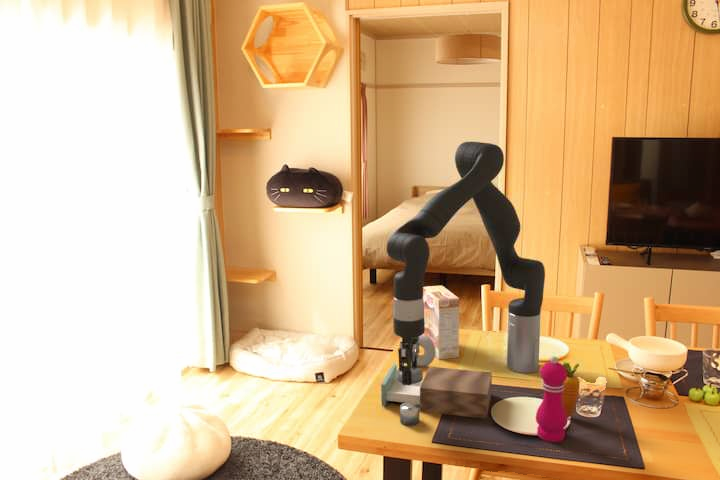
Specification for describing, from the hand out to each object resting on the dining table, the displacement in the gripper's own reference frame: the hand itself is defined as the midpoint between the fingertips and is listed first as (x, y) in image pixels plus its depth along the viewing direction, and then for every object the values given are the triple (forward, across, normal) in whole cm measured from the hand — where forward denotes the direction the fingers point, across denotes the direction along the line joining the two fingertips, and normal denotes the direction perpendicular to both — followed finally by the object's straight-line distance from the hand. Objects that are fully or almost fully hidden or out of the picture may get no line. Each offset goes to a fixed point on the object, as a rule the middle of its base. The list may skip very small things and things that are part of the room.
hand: (409, 378), depth 161 cm
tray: (+11, +13, 0) cm, 17 cm away
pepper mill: (+12, +1, -34) cm, 36 cm away
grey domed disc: (0, 0, 0) cm, 0 cm away
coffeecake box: (+12, +49, 0) cm, 50 cm away
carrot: (+12, +11, -38) cm, 41 cm away
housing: (+12, +13, -10) cm, 20 cm away
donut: (+12, +35, +4) cm, 37 cm away
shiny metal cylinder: (+11, 0, 0) cm, 11 cm away
